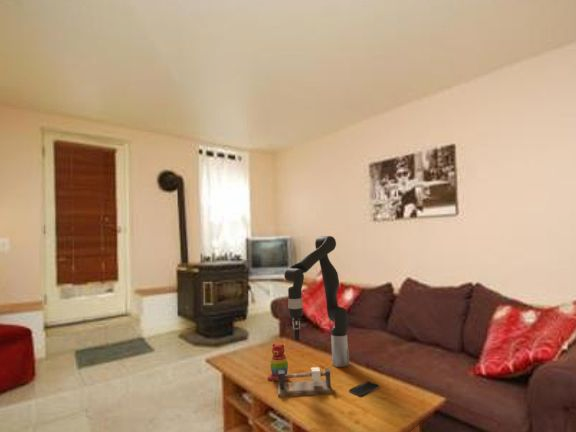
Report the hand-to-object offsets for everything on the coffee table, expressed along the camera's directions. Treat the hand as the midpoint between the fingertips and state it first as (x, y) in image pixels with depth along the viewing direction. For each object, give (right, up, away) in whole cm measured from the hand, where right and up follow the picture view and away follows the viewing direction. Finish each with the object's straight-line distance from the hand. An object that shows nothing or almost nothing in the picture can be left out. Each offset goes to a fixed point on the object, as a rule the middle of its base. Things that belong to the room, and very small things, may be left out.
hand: (296, 338), depth 183 cm
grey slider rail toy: (+3, -22, -10) cm, 24 cm away
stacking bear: (-9, -24, +5) cm, 26 cm away
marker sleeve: (+9, -17, -9) cm, 22 cm away
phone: (+33, -21, -13) cm, 41 cm away
